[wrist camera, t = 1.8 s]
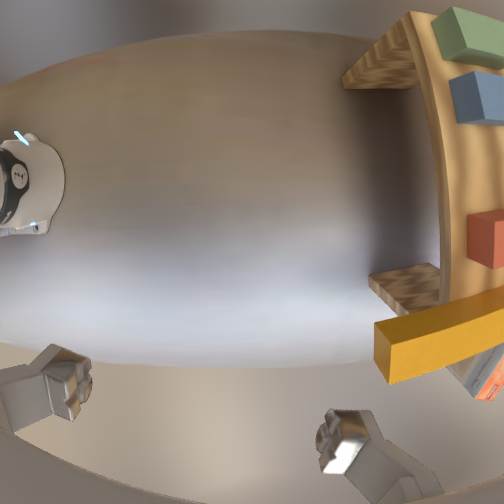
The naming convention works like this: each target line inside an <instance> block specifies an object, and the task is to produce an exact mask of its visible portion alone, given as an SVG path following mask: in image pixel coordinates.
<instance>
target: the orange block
mask: <svg viewBox="0 0 504 504" xmlns="http://www.w3.org/2000/svg"><path fill="white" fill-rule="evenodd" d="M503 342H504V285H503V286H500V287H497V288H494V289H491V290H489V291H486V292H483V293H479V294H476V295H473V296H470V297H467V298H464V299H460V300H457V301H454V302H451V303H447V304H444V305H440V306H437V307H433V308H430V309H426V310H422V311H419V312H415V313H411V314H407V315H403V316H399V317H395V318H391V319H387V320H383V321H379V322H375V323H374V361H375V363H376V364H377V366H378V368H379V369H380V371H381V373H382V374H383V376H384V378H385V379H386V381H387V383H388V384H389V385H390V384H394V383H397V382H400V381H404V380H407V379H410V378H413V377H416V376H420V375H422V374H425V373H428V372H431V371H434V370H437V369H440V368H443V367H446V366H448V365H451V364H454V363H456V362H459V361H461V360H464V359H466V358H469V357H471V356H474V355H476V354H478V353H481V352H483V351H485V350H488V349H490V348H492V347H494V346H497V345H499V344H501V343H503Z"/></svg>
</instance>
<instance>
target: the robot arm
mask: <svg viewBox="0 0 504 504" xmlns="http://www.w3.org/2000/svg"><path fill="white" fill-rule="evenodd" d="M14 133H15V134H16V135H17V136H18V138H19V140H6V141H4V142H3V144H1V145H0V237H3V236H7V235H9V234H45V233H47V231H48V229H49V226H50V221H51V218H52V216H53V214H54V213H55V211H56V210H57V208H58V206H59V204H60V202H61V199H62V196H63V192H64V184H65V176H64V169H63V165H62V162H61V159H60V157H59V155H58V154H57V152H56V151H55V150H54V149H53V148H52V147H51V146H49V145H47V144H45V143H42V142H40V141H39V140H38V138H37V137H36V136H35V135H34V134H33V133H27V134H25V135H24V136H23V137H22V136H21V135H20V134H19V133H18V132H17V131H15V132H14ZM37 226H38V228H37ZM90 369H91V360H90V359H89V358H88V357H86V356H83V355H81V354H78V353H76V352H73V351H71V350H68V349H66V348H63V347H60V346H58V345H56V344H50V345H49V346H48V347H47V348H46V349H45V350H44V351H43V352H42V353H41V354H40V355H38V356H37V357H36V358H35V359H34V360H33V361H32V362H31V363H30V364H29V365H26V364H23V365H19V366H15V367H10V368H5V369H1V370H0V504H205V503H199V502H194V501H189V500H184V499H180V498H175V497H171V496H167V495H162V494H159V493H154V492H151V491H147V490H144V489H140V488H137V487H133V486H130V485H127V484H124V483H121V482H118V481H115V480H112V479H109V478H106V477H104V476H101V475H98V474H96V473H93V472H91V471H88V470H86V469H83V468H81V467H78V466H76V465H74V464H71V463H69V462H67V461H65V460H63V459H60V458H58V457H56V456H54V455H52V454H50V453H48V452H46V451H44V450H42V449H40V448H38V447H36V446H34V445H32V444H30V443H29V442H27V441H25V440H23V439H21V438H19V437H18V436H16V435H15V434H14V432H16V431H18V430H20V429H22V428H24V427H26V426H29V425H31V424H33V423H35V422H37V421H39V420H41V419H44V418H46V417H48V416H50V415H52V413H53V414H55V415H57V416H60V417H62V418H64V419H67V420H69V421H72V422H73V421H74V420H75V418H76V417H77V415H78V414H79V412H80V410H81V407H80V404H82V403H85V402H86V401H87V400H88V398H89V396H90V393H91V390H92V377H91V375H90V374H89V370H90ZM325 420H326V422H325V423H323V424H322V425H320V427H319V429H318V432H317V435H316V449H317V451H318V452H319V453H321V454H322V455H321V456H320V458H319V462H320V467H321V472H322V473H330V474H344V475H345V476H346V477H347V478H348V479H349V481H350V482H351V483H352V484H353V485H354V486H355V487H356V488H357V489H358V490H359V491H360V492H361V493H362V494H363V496H365V498H366V499H367V500H368V501H369V502H370V503H371V504H504V474H503V475H500V476H498V477H496V478H493V479H490V480H488V481H485V482H482V483H479V484H476V485H473V486H470V487H467V488H464V489H460V490H457V491H453V492H450V493H446V494H445V493H444V491H443V489H442V487H441V485H440V483H439V481H438V479H437V477H436V475H435V473H434V471H432V470H431V469H429V468H428V467H426V466H424V465H423V464H422V463H420V462H419V461H417V460H416V459H414V458H413V457H412V456H410V455H409V454H407V453H406V452H404V451H403V450H402V449H400V448H399V447H397V446H396V445H394V444H393V443H392V442H390V441H389V440H384V438H383V436H382V433H381V431H380V429H379V427H378V425H377V422H376V421H375V418H374V416H373V414H372V412H371V411H370V410H344V409H329V410H328V411H327V413H326V415H325Z"/></svg>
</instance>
